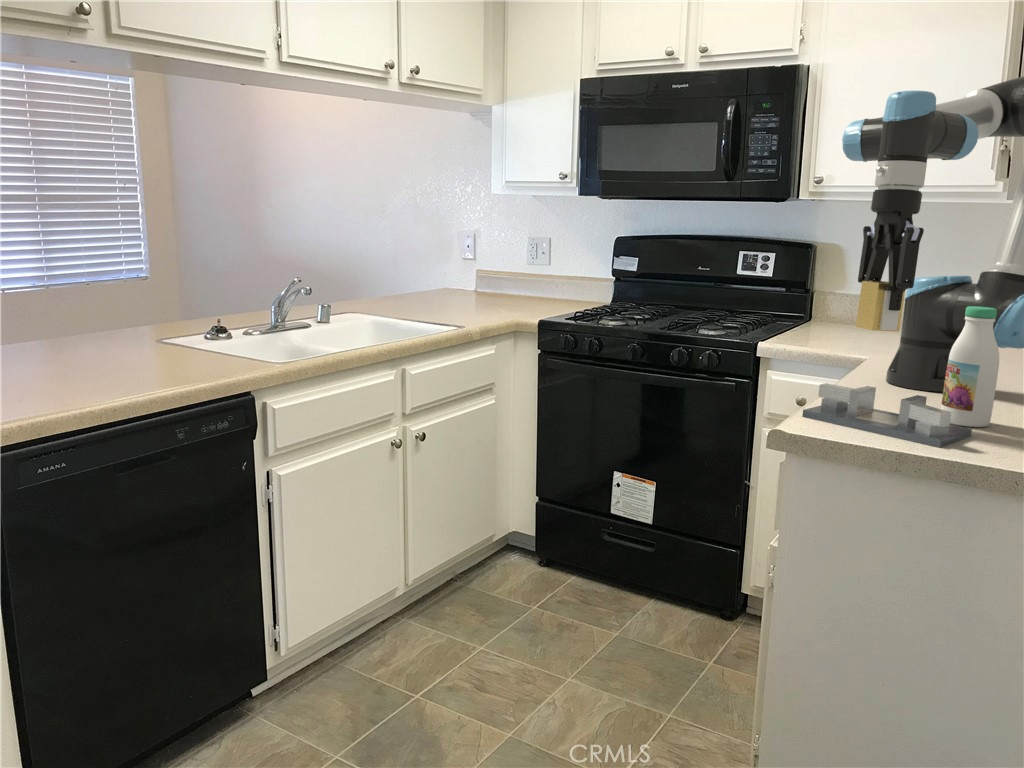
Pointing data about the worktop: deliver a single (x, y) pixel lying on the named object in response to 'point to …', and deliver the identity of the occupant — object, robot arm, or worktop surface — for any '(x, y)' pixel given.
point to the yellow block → (873, 305)
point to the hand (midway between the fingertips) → (878, 327)
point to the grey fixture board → (886, 416)
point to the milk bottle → (972, 370)
